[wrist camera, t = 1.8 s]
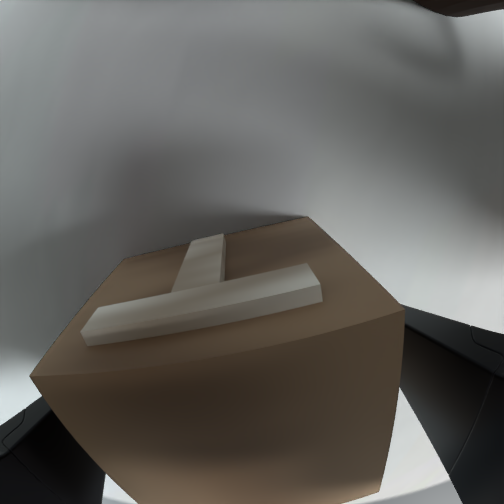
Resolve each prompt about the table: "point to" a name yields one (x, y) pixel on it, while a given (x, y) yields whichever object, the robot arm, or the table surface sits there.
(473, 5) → the coffee mug
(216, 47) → the table surface
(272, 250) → the walnut letter cube
